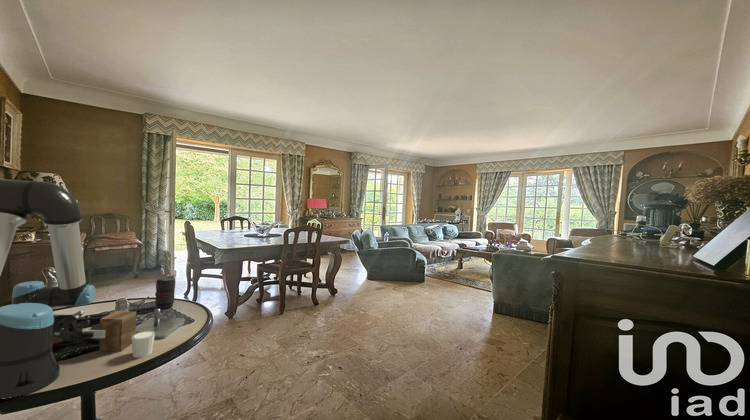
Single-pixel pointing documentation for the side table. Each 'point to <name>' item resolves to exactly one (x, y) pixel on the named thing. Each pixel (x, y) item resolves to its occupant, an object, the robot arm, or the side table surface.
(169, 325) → the joystick
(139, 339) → the pale grey tapered cylinder
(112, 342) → the wooden brick
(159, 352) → the side table surface
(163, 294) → the camera lens
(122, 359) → the side table surface
